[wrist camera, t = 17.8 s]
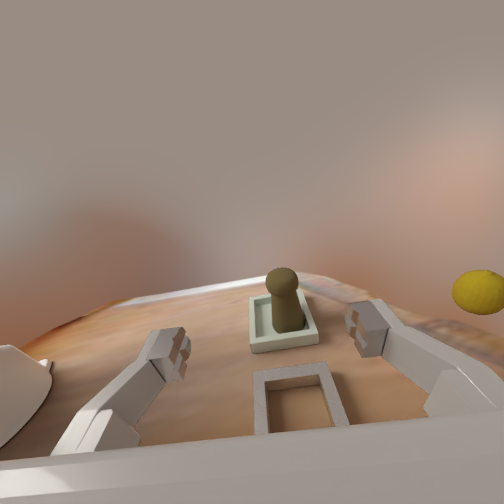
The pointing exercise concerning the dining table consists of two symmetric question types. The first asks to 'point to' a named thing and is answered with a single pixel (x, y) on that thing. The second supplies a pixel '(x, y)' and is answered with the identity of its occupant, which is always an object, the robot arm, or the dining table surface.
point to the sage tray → (267, 337)
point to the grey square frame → (293, 379)
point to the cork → (285, 301)
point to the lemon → (479, 292)
